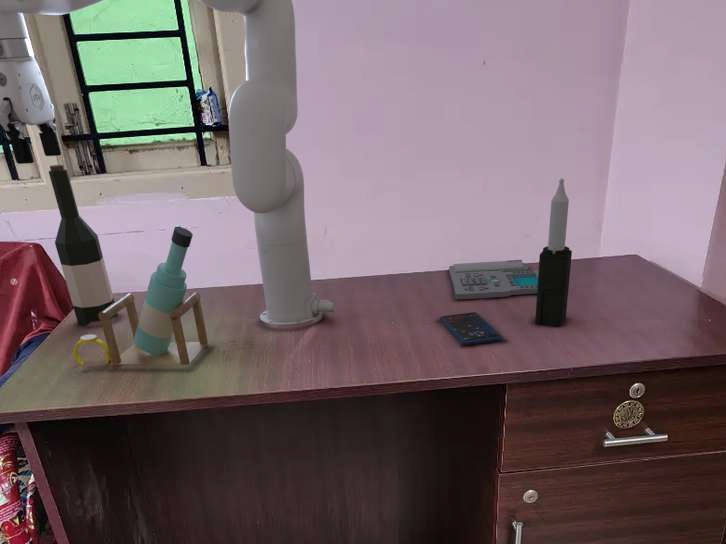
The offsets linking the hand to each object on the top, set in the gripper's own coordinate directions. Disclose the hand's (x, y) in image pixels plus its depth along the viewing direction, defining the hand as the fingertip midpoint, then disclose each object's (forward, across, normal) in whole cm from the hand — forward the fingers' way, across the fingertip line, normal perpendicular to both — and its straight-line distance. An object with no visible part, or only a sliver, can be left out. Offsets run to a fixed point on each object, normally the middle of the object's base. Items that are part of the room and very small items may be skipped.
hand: (40, 159), depth 134 cm
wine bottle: (+31, 0, -3) cm, 32 cm away
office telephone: (+31, +24, -86) cm, 95 cm away
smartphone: (+31, -7, -81) cm, 87 cm away
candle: (+31, -2, -96) cm, 101 cm away
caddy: (+31, -21, -26) cm, 46 cm away
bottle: (+30, -21, -29) cm, 47 cm away
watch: (+31, -26, -15) cm, 43 cm away
